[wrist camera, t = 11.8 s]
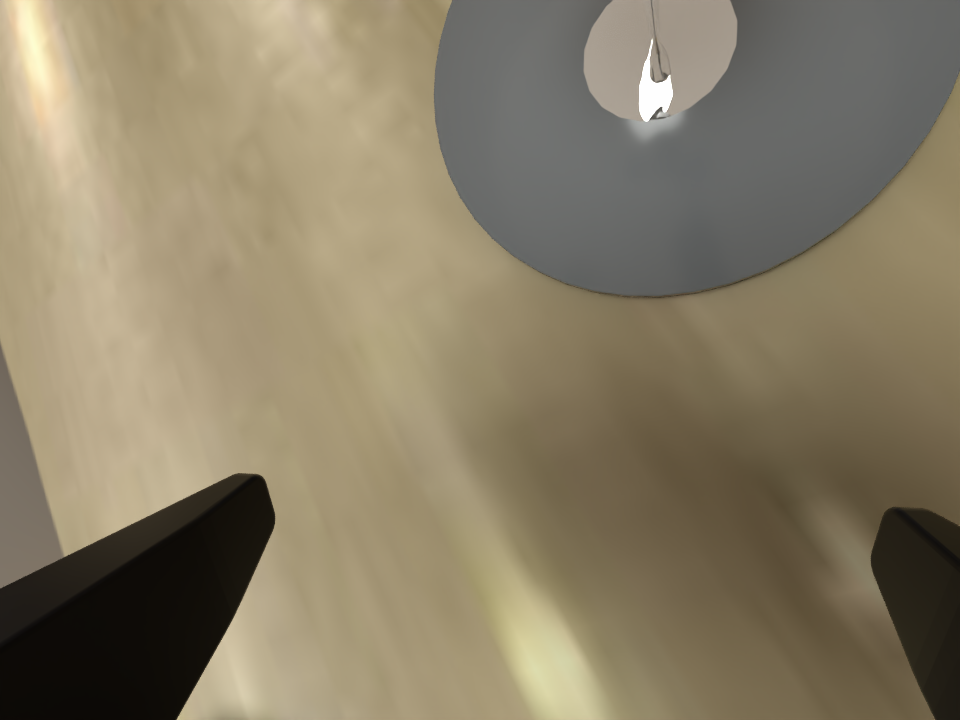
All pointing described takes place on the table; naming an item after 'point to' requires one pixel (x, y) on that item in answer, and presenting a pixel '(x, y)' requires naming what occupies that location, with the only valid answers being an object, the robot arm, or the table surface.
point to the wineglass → (658, 55)
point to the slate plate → (686, 138)
